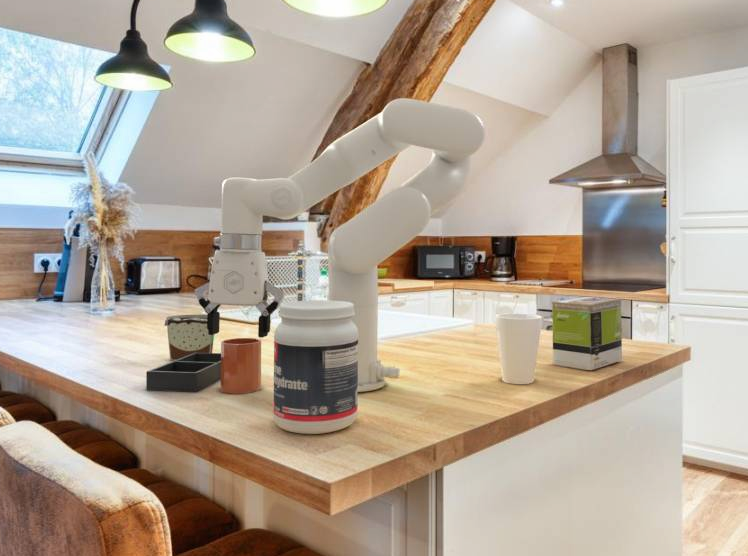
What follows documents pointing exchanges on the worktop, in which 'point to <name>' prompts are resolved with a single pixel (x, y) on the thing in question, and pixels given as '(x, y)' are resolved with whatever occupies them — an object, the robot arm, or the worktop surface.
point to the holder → (186, 373)
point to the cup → (240, 365)
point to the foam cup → (518, 346)
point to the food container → (188, 335)
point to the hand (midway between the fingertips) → (238, 335)
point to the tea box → (587, 332)
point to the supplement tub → (315, 367)
